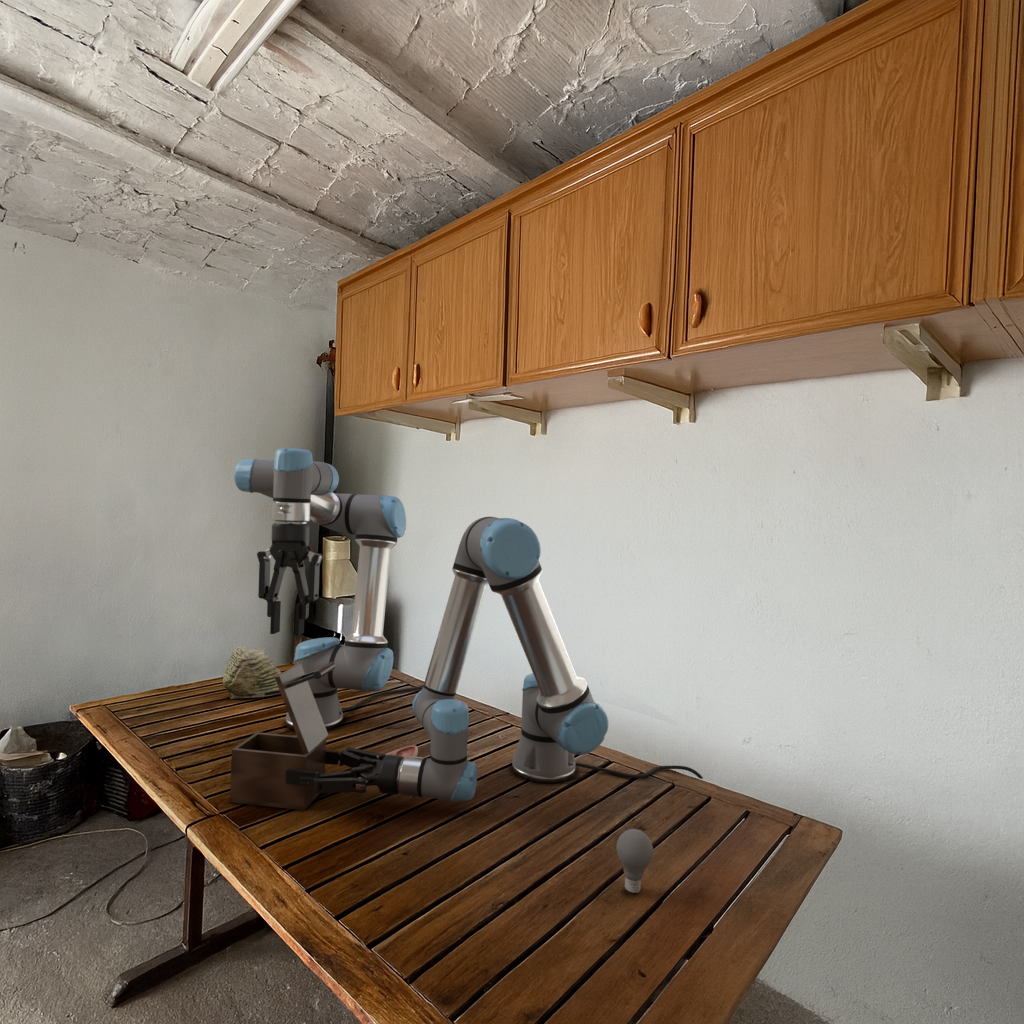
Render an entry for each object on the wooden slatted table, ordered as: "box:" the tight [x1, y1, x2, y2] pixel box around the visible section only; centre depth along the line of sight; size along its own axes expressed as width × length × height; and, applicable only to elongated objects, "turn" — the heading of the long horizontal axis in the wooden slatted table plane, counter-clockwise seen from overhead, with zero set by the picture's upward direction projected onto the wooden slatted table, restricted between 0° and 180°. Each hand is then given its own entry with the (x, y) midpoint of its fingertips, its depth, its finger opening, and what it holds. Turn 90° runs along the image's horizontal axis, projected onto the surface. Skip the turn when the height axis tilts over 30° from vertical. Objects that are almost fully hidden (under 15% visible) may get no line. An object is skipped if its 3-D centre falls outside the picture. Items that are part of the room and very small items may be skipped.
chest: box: [229, 731, 327, 811], centre depth 134 cm, size 16×10×11 cm, turn 83°
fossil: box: [222, 646, 283, 699], centre depth 198 cm, size 9×18×15 cm, turn 132°
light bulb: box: [615, 828, 654, 894], centre depth 106 cm, size 6×6×10 cm
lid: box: [275, 662, 335, 755], centre depth 132 cm, size 17×10×9 cm
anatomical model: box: [385, 744, 419, 758], centre depth 149 cm, size 13×4×12 cm
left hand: (287, 633), depth 133 cm, fingers open, 5 cm apart
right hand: (298, 765), depth 133 cm, fingers closed on chest, 10 cm apart
